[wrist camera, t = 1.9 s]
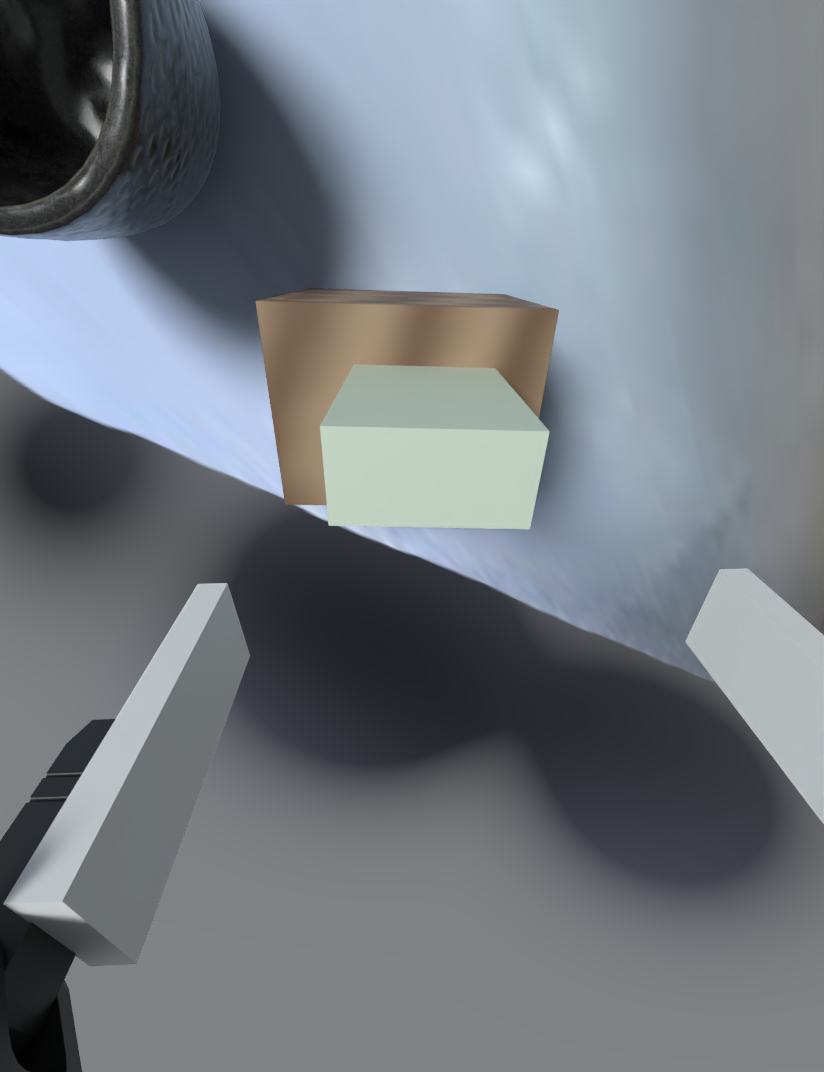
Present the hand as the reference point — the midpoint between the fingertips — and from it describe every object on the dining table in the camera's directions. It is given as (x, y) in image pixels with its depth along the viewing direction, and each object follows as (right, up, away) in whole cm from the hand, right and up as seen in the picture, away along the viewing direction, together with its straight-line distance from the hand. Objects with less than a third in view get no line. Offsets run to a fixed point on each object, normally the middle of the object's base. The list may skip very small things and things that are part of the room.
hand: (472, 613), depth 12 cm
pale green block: (-1, +10, +13) cm, 17 cm away
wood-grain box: (-2, +17, +27) cm, 32 cm away
